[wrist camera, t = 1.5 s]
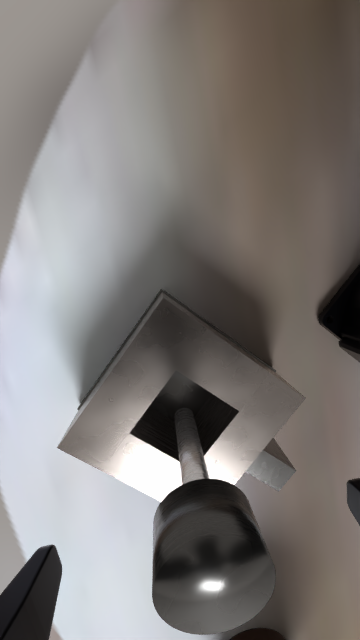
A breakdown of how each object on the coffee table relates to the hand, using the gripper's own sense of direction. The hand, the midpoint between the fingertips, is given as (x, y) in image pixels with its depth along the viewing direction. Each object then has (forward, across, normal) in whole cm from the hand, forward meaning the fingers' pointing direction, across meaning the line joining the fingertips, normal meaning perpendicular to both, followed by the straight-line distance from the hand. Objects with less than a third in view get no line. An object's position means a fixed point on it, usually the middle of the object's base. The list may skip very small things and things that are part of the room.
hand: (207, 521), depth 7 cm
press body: (+9, -1, +1) cm, 9 cm away
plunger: (+6, 0, 0) cm, 6 cm away
